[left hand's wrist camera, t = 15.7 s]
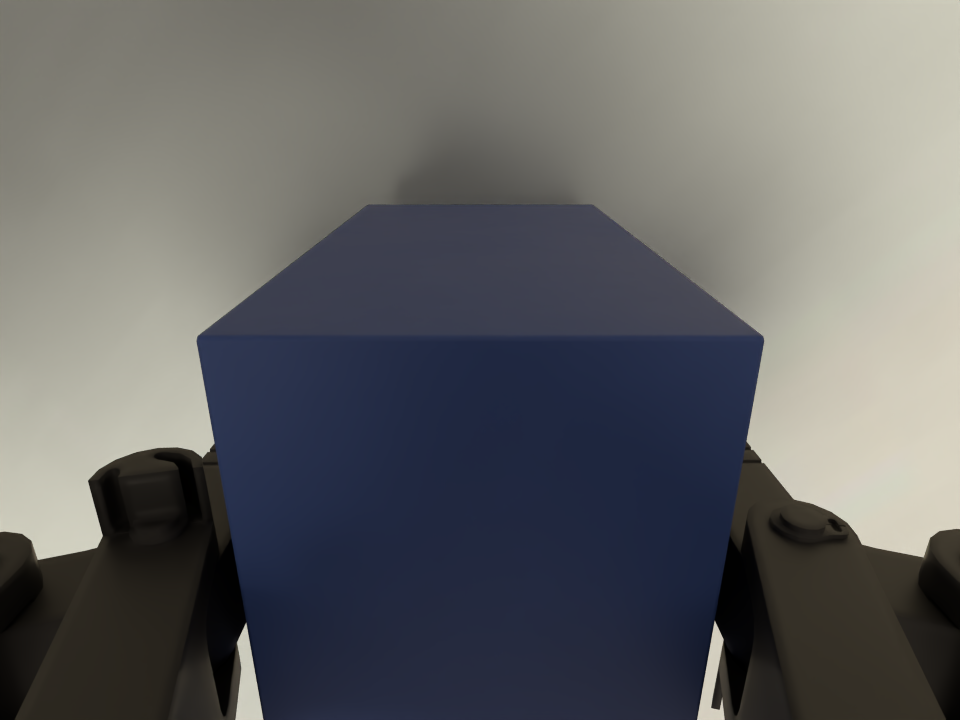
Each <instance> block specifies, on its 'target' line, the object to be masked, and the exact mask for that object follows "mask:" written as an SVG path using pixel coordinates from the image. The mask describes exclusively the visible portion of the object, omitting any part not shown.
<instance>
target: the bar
mask: <svg viewBox="0 0 960 720" xmlns="http://www.w3.org/2000/svg"><path fill="white" fill-rule="evenodd" d="M763 345H764V338H763V336H762V335H761V334H760V333H758V332H757V331H756V330H754V329H753V328H752V327H750V326H749V325H748V324H747V323H745V322H744V321H743V320H741V319H740V318H739V317H738V316H736V315H735V314H734V313H732V312H731V311H730V310H728V309H727V308H726V307H725V306H723V305H722V304H721V303H719V302H718V301H717V300H716V299H714V298H713V297H712V296H710V295H709V294H708V293H706V292H705V291H704V290H703V289H701V288H700V287H699V286H697V285H696V284H695V283H693V282H692V281H691V280H690V279H688V278H687V277H686V276H684V275H683V274H682V273H681V272H679V271H678V270H677V269H675V268H674V267H673V266H671V265H670V264H669V263H668V262H666V261H665V260H664V259H662V258H661V257H660V256H659V255H657V254H656V253H655V252H653V251H652V250H651V249H649V248H648V247H647V246H646V245H644V244H643V243H642V242H640V241H639V240H638V239H636V238H635V237H634V236H633V235H631V234H630V233H629V232H627V231H626V230H625V229H624V228H622V227H621V226H620V225H618V224H617V223H616V222H614V221H613V220H612V219H611V218H609V217H608V216H607V215H605V214H604V213H603V212H602V211H600V210H599V209H598V208H596V207H595V206H594V205H367V206H366V207H364V208H363V209H362V210H360V211H359V212H358V213H356V214H355V215H354V216H353V217H351V218H350V219H349V220H347V221H346V222H345V223H344V224H342V225H341V226H340V227H338V228H337V229H336V230H334V231H333V232H332V233H331V234H329V235H328V236H327V237H325V238H324V239H323V240H322V241H320V242H319V243H318V244H316V245H315V246H314V247H312V248H311V249H310V250H309V251H307V252H306V253H305V254H303V255H302V256H301V257H300V258H298V259H297V260H296V261H294V262H293V263H292V264H290V265H289V266H288V267H287V268H285V269H284V270H283V271H281V272H280V273H279V274H277V275H276V276H275V277H274V278H272V279H271V280H270V281H268V282H267V283H266V284H265V285H263V286H262V287H261V288H259V289H258V290H257V291H255V292H254V293H253V294H252V295H250V296H249V297H248V298H246V299H245V300H244V301H243V302H241V303H240V304H239V305H237V306H236V307H235V308H233V309H232V310H231V311H230V312H228V313H227V314H226V315H224V316H223V317H222V318H221V319H219V320H218V321H217V322H215V323H214V324H213V325H211V326H210V327H209V328H208V329H206V330H205V331H204V332H202V333H201V334H200V335H198V337H197V346H198V351H199V357H200V363H201V368H202V374H203V380H204V385H205V391H206V397H207V402H208V408H209V414H210V419H211V425H212V431H213V436H214V442H215V448H216V453H217V459H218V465H219V470H220V476H221V482H222V487H223V493H224V498H225V504H226V510H227V515H228V521H229V527H230V532H231V538H232V544H233V549H234V555H235V561H236V566H237V572H238V578H239V583H240V589H241V595H242V600H243V606H244V612H245V617H246V623H247V629H248V634H249V640H250V646H251V651H252V657H253V662H254V668H255V674H256V679H257V685H258V691H259V696H260V702H261V708H262V713H263V719H264V720H697V717H698V711H699V705H700V700H701V694H702V688H703V683H704V677H705V671H706V666H707V660H708V655H709V649H710V643H711V638H712V632H713V626H714V621H715V615H716V609H717V604H718V598H719V593H720V587H721V581H722V576H723V570H724V564H725V559H726V553H727V547H728V542H729V536H730V531H731V525H732V519H733V514H734V508H735V502H736V497H737V491H738V485H739V480H740V474H741V469H742V463H743V457H744V452H745V446H746V440H747V435H748V429H749V423H750V418H751V412H752V407H753V401H754V395H755V390H756V384H757V378H758V373H759V367H760V361H761V356H762V350H763Z"/></svg>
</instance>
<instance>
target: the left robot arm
mask: <svg viewBox="0 0 960 720" xmlns="http://www.w3.org/2000/svg"><path fill="white" fill-rule="evenodd" d="M88 483H89V486H90V490H91V494H92V497H93V501H94V505H95V508H96V512H97V516H98V520H99V523H100V527H101V531H102V534H103V537H102V539H101V541H100V543H99V545H98V547H97V548H95V549H91V550H87V551H82V552H77V553H72V554H67V555H62V556H57V557H52V558H47V559H41V560H37V557H36V554H35V551H34V548H33V544H32V541H31V540H29V539H28V538H27V537H25V536H24V535H23V534H18V533H11V532H0V720H235V718H236V709H237V701H238V692H239V683H240V675H241V664H240V657H239V652H238V646H237V641H238V639H239V637H240V635H241V632H242V630H243V628H244V626H245V624H246V617H245V612H244V606H243V600H242V595H241V589H240V583H239V578H238V572H237V566H236V561H235V555H234V549H233V544H232V538H231V532H230V527H229V521H228V515H227V510H226V504H225V498H224V493H223V487H222V482H221V476H220V470H219V465H218V459H217V453H216V448H215V444H214V445H213V446H212V447H211V449H210V452H207V454H206V455H205V456H204V457H203V458H202V457H201V456H199V455H198V454H197V453H195V452H194V451H192V450H187V449H182V448H156V449H151V450H146V451H141V452H136V453H133V454H130V455H128V456H125V457H122V458H119V459H117V460H115V461H113V462H111V463H109V464H108V465H106V466H104V467H102V468H101V469H99V470H98V471H97V472H96V473H95V474H94V475H93V476H92V477H91V478H90V479H89V480H88ZM715 622H716V624H717V626H718V628H719V630H720V633H721V635H722V637H723V639H724V641H723V646H722V652H721V657H720V662H719V667H718V673H717V678H716V683H715V688H714V694H713V700H712V706H711V708H714V709H719V710H720V705H721V700H722V699H723V708H724V716H725V720H960V529H953V530H945V531H939V532H938V533H936V534H935V535H934V536H932V537H931V538H930V540H929V543H928V546H927V549H926V552H925V555H924V558H923V557H918V556H913V555H908V554H902V553H897V552H892V551H887V550H882V549H877V548H873V547H869V546H865V545H862V544H861V542H860V540H859V538H858V536H857V534H856V533H855V532H854V531H853V530H852V528H851V527H850V526H849V525H848V523H846V522H845V521H844V520H842V519H841V518H839V517H838V516H836V515H835V514H833V513H832V512H830V511H827V510H825V509H823V508H820V507H818V506H816V505H813V504H810V503H806V502H802V501H797V500H794V499H793V498H792V497H791V496H790V494H789V493H788V492H787V491H786V490H785V488H784V487H783V486H782V485H781V483H780V482H779V481H778V480H777V479H776V477H775V476H774V475H773V474H772V472H771V471H770V470H769V469H768V467H767V466H766V465H765V464H764V463H761V459H760V458H759V456H758V455H757V454H756V453H755V452H754V450H751V447H750V445H749V444H748V443H747V442H746V446H745V452H744V457H743V463H742V469H741V474H740V480H739V485H738V491H737V497H736V502H735V508H734V514H733V519H732V525H731V531H730V536H729V542H728V547H727V553H726V559H725V564H724V570H723V576H722V581H721V587H720V593H719V598H718V604H717V609H716V615H715Z"/></svg>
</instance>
